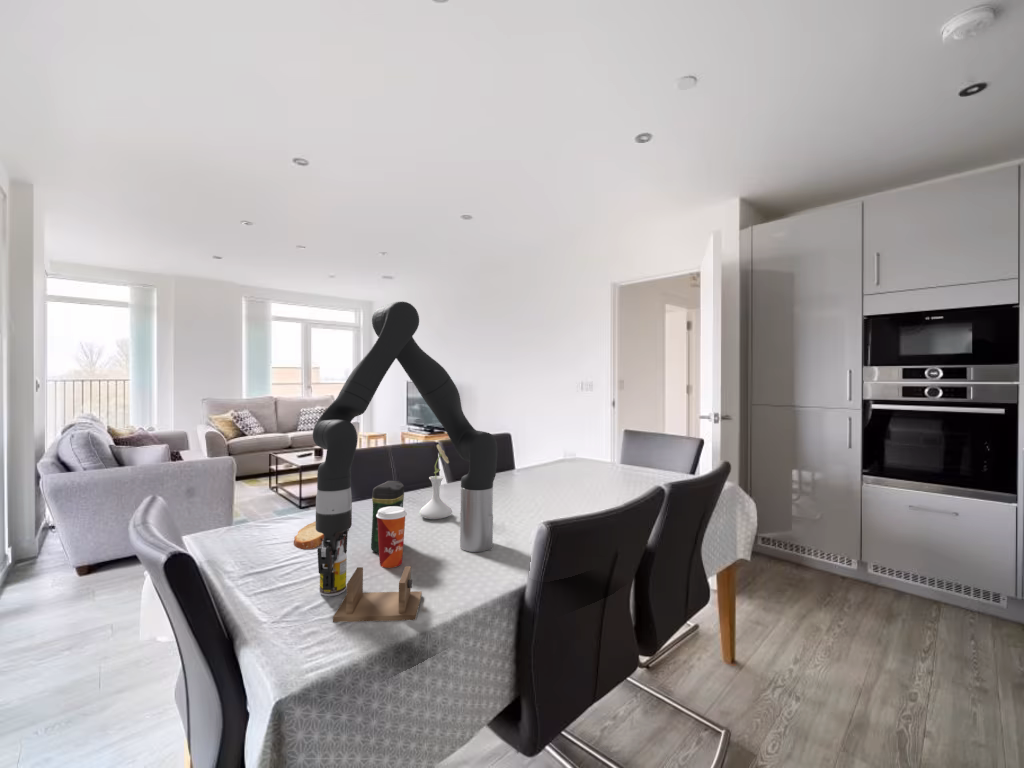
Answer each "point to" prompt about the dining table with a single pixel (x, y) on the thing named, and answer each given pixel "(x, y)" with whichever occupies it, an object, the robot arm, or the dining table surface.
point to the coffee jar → (384, 504)
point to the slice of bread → (308, 537)
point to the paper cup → (391, 535)
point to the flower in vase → (436, 496)
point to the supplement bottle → (337, 576)
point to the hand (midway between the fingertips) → (333, 582)
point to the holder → (378, 601)
